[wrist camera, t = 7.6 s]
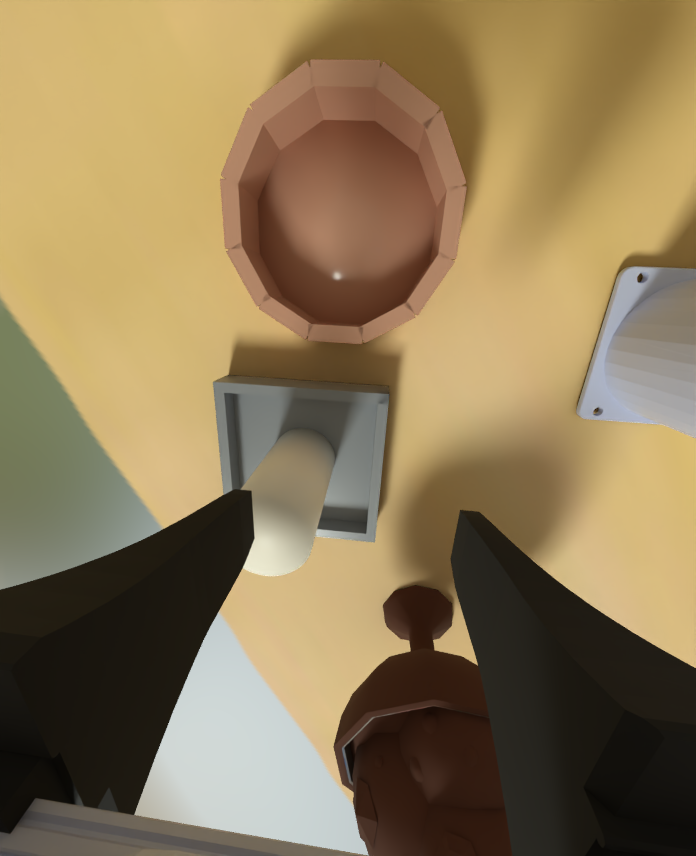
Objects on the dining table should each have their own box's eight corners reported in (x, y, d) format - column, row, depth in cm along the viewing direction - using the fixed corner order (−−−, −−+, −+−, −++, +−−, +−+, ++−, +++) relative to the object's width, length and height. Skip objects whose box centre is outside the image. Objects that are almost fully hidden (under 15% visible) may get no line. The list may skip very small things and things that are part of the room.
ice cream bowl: (426, 532, 23) (498, 872, 9) (517, 624, 25) (687, 1011, 11) (321, 601, 26) (257, 934, 12) (410, 678, 29) (442, 1034, 15)
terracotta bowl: (465, 106, 15) (485, 60, 12) (433, 342, 19) (442, 348, 16) (241, 102, 16) (211, 58, 13) (252, 331, 19) (231, 335, 17)
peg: (336, 431, 20) (314, 501, 13) (333, 487, 22) (310, 581, 14) (273, 425, 21) (214, 490, 13) (273, 481, 22) (220, 570, 14)
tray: (388, 386, 20) (389, 394, 18) (375, 523, 23) (374, 542, 22) (228, 374, 21) (212, 381, 19) (238, 510, 24) (226, 527, 22)
